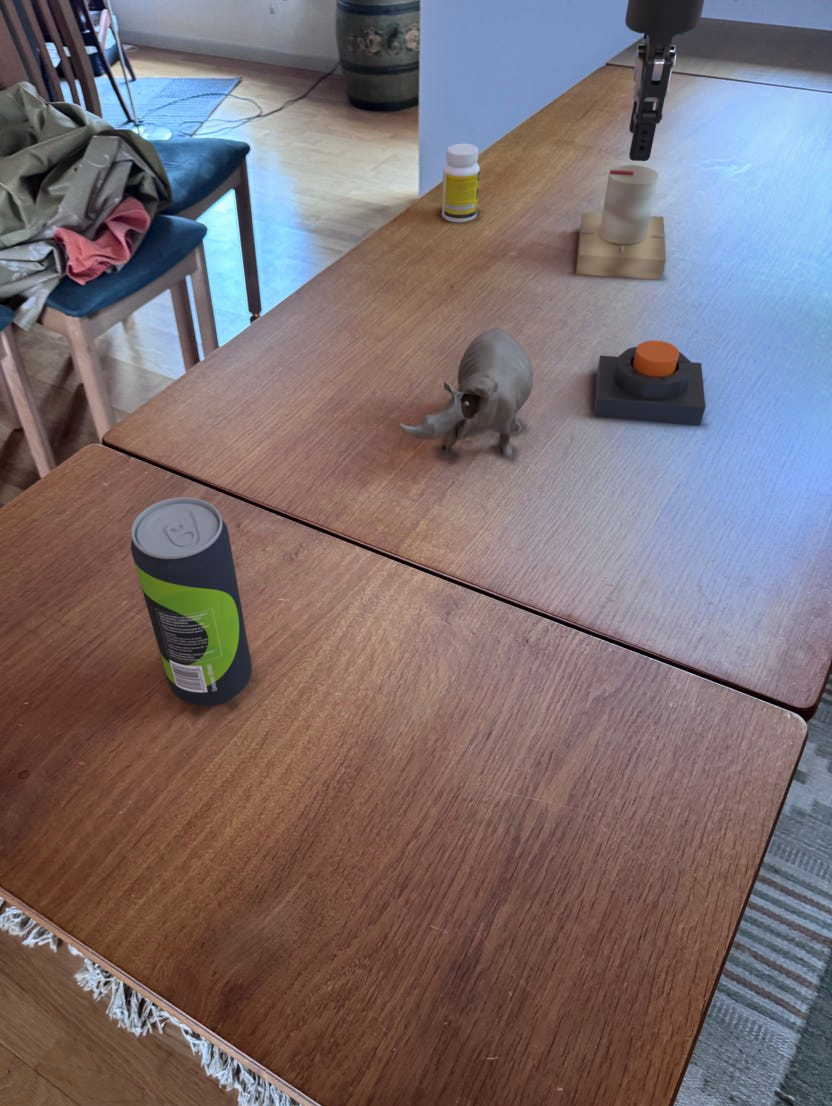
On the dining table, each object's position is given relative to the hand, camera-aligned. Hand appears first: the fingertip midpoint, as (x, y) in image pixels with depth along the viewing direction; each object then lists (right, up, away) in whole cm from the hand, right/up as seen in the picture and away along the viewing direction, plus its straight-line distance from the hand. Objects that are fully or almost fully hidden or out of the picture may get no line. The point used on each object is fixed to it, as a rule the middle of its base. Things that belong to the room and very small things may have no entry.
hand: (638, 145), depth 103 cm
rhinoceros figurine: (-21, -38, -16) cm, 46 cm away
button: (-3, -30, -15) cm, 33 cm away
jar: (0, -7, +7) cm, 10 cm away
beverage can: (-43, -59, -35) cm, 81 cm away
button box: (-3, -32, -12) cm, 35 cm away
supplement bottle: (-18, +1, +19) cm, 26 cm away
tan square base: (0, -9, +9) cm, 13 cm away
